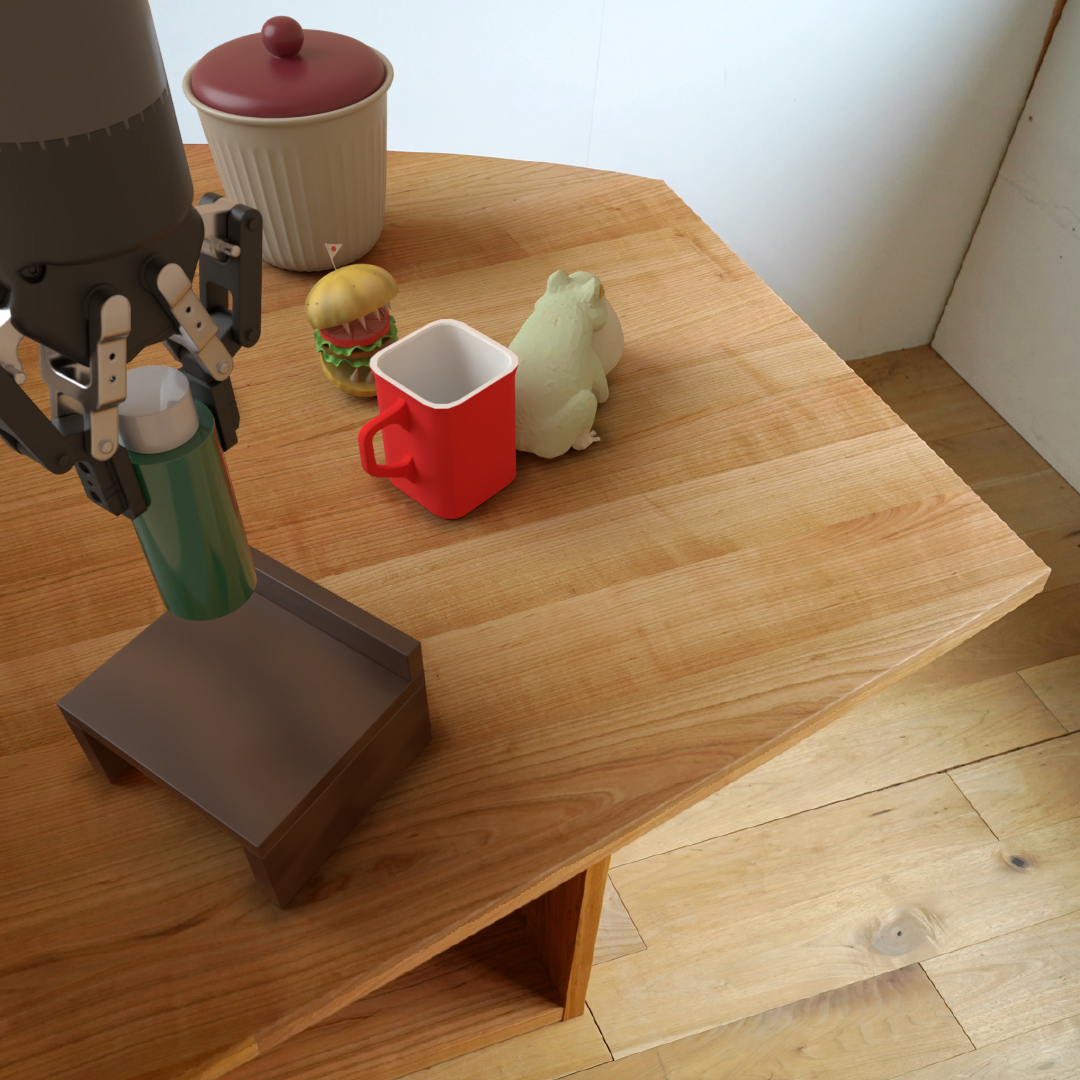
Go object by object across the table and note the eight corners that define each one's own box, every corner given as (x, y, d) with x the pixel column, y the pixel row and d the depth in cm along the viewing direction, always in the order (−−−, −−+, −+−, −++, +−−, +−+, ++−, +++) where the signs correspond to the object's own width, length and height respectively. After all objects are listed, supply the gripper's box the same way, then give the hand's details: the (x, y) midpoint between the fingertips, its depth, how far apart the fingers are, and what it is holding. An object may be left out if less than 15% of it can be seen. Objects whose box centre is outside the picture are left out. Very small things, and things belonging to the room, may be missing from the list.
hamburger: (360, 420, 83) (340, 291, 75) (299, 385, 86) (273, 257, 78) (426, 375, 87) (414, 248, 79) (366, 343, 91) (348, 217, 82)
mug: (454, 425, 83) (446, 313, 75) (529, 474, 79) (529, 360, 71) (336, 501, 77) (315, 386, 69) (411, 557, 73) (397, 443, 65)
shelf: (282, 910, 55) (247, 823, 48) (94, 771, 61) (40, 676, 54) (432, 738, 63) (421, 641, 56) (253, 629, 68) (223, 529, 62)
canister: (413, 198, 108) (394, -20, 93) (403, 294, 96) (380, 61, 81) (239, 199, 108) (191, -20, 93) (206, 296, 95) (146, 62, 80)
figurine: (649, 361, 89) (660, 257, 82) (577, 480, 79) (583, 373, 71) (541, 332, 92) (542, 230, 85) (458, 444, 81) (451, 337, 74)
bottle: (207, 636, 48) (140, 441, 40) (140, 594, 50) (62, 398, 42) (276, 576, 51) (227, 381, 43) (210, 538, 53) (150, 343, 44)
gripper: (138, -9, 39) (230, 364, 51) (-244, 130, 30) (-24, 536, 43) (286, 37, 36) (346, 420, 48) (-90, 204, 27) (98, 615, 40)
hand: (172, 473), depth 45 cm, fingers closed on bottle, 4 cm apart
